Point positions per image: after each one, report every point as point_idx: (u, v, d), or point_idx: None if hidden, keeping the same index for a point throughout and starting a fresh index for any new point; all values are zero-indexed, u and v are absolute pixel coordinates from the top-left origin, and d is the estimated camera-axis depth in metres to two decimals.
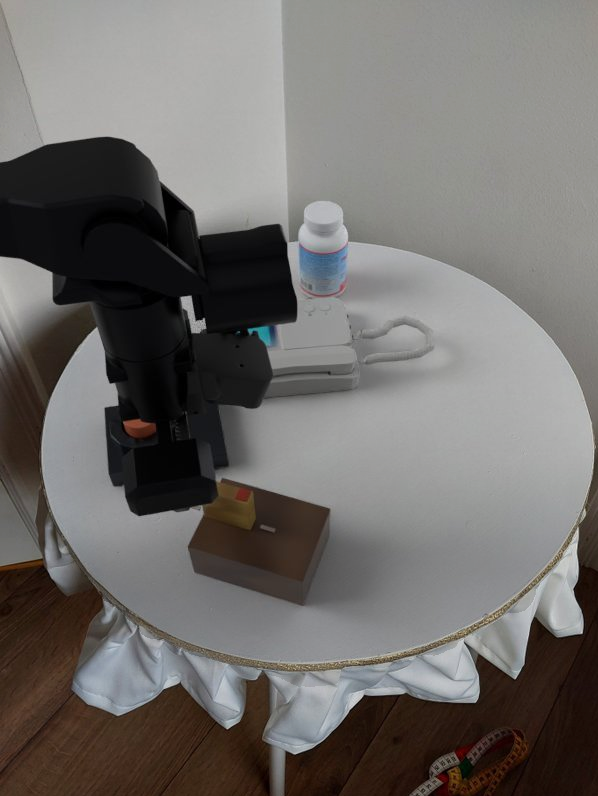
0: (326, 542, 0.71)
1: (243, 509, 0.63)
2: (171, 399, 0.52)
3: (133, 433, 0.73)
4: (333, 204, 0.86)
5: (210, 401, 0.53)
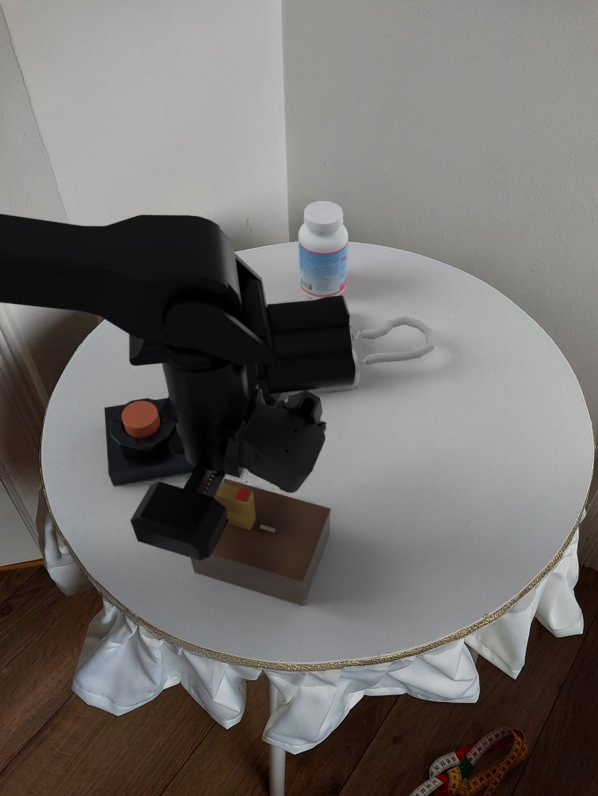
0: (326, 542, 0.71)
1: (243, 509, 0.63)
2: (211, 453, 0.54)
3: (133, 433, 0.73)
4: (333, 204, 0.86)
5: (248, 469, 0.55)
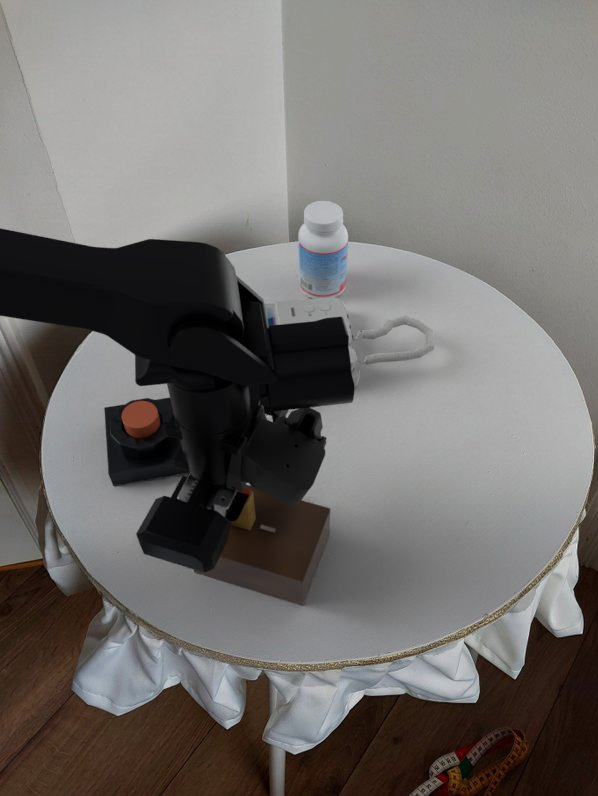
0: (326, 542, 0.71)
1: (243, 509, 0.63)
2: (215, 468, 0.56)
3: (133, 433, 0.73)
4: (333, 204, 0.86)
5: (250, 483, 0.57)
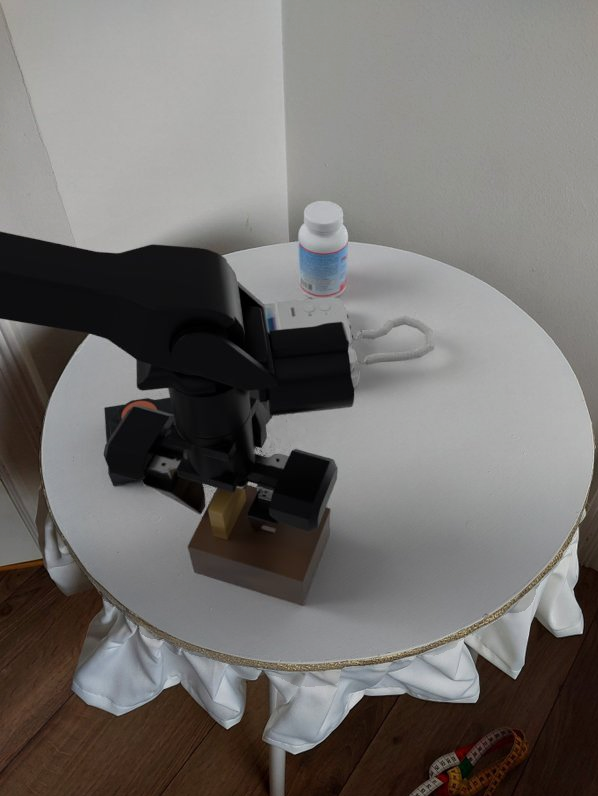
0: (326, 542, 0.71)
1: None
2: (253, 443, 0.58)
3: None
4: (333, 204, 0.86)
5: None
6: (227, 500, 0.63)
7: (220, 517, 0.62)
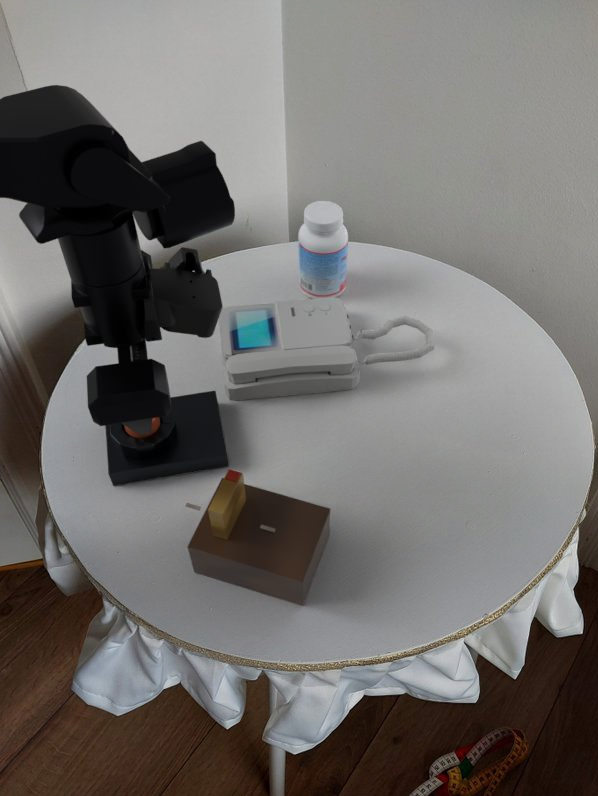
0: (326, 542, 0.71)
1: (242, 483, 0.65)
2: (130, 325, 0.58)
3: (133, 433, 0.73)
4: (333, 204, 0.86)
5: (166, 329, 0.60)
6: (227, 500, 0.63)
7: (220, 517, 0.62)
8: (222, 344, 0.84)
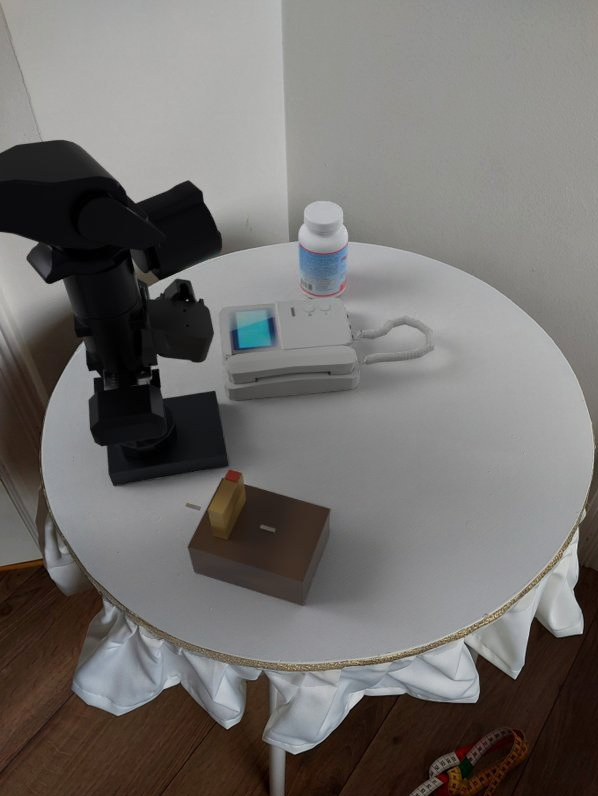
0: (326, 542, 0.71)
1: (242, 483, 0.65)
2: (129, 352, 0.63)
3: None
4: (333, 204, 0.86)
5: (162, 355, 0.65)
6: (227, 500, 0.63)
7: (220, 517, 0.62)
8: (222, 344, 0.84)
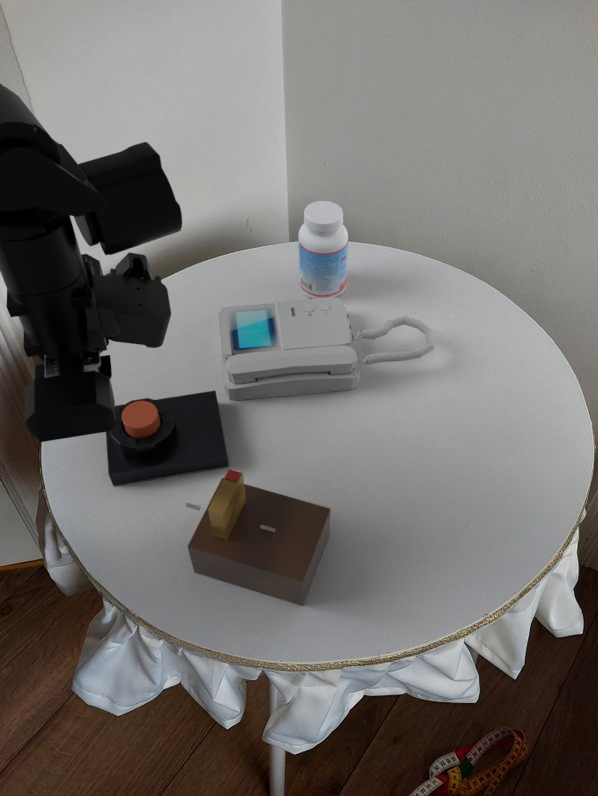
0: (326, 542, 0.71)
1: (242, 483, 0.65)
2: (72, 334, 0.55)
3: (133, 433, 0.73)
4: (333, 204, 0.86)
5: (111, 338, 0.57)
6: (227, 500, 0.63)
7: (220, 517, 0.62)
8: (222, 344, 0.84)
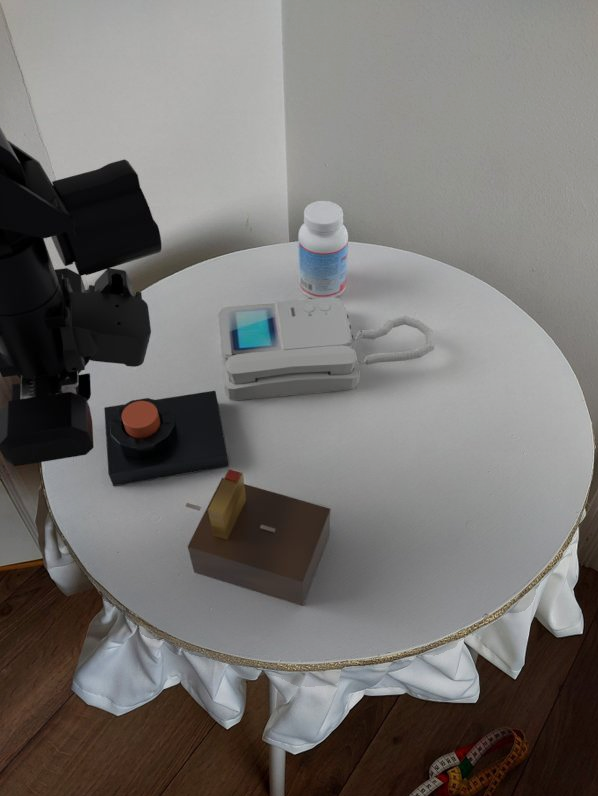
0: (326, 542, 0.71)
1: (242, 483, 0.65)
2: (48, 354, 0.53)
3: (133, 433, 0.73)
4: (333, 204, 0.86)
5: (89, 358, 0.55)
6: (227, 500, 0.63)
7: (220, 517, 0.62)
8: (222, 344, 0.84)
